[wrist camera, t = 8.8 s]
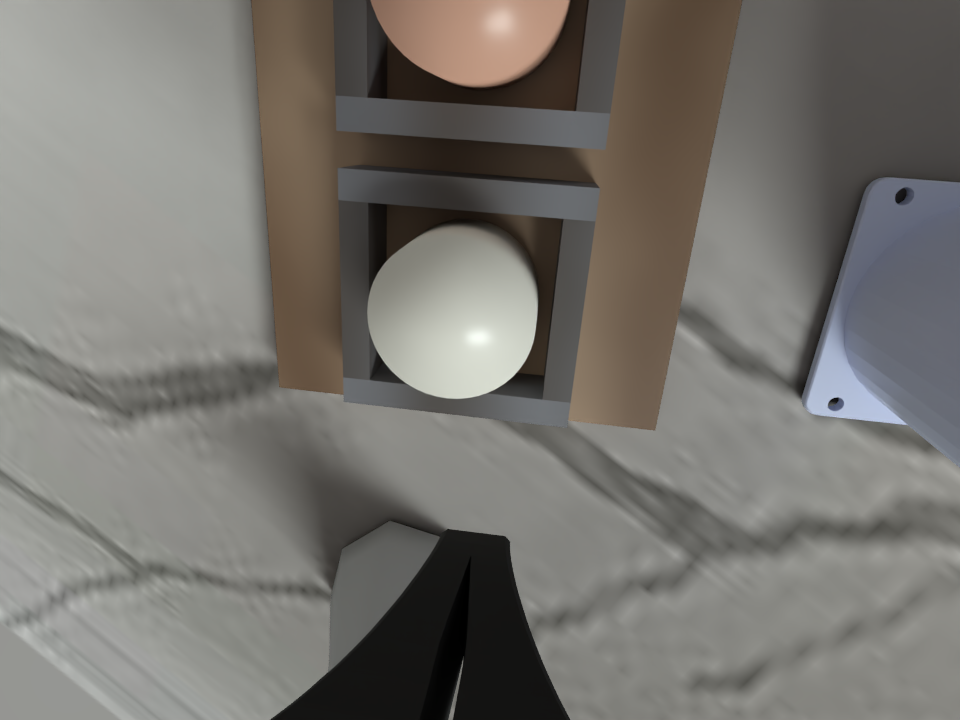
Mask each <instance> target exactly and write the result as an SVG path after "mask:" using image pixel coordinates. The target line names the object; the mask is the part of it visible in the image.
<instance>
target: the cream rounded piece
mask: <svg viewBox="0 0 960 720" xmlns="http://www.w3.org/2000/svg"><path fill="white" fill-rule="evenodd" d="M538 304H539V281H538V277H537V272H536V269H535V267H534V264H533V262H532V260H531V258H530V256H529V254H528V253H527V251H526V250H525V249H524V247H523V246H522V245H521V244H520V243H519V242H518V241H517V240H516V239H515V238H514V237H513V236H512V235H510V234H509V233H508V232H506V231H505V230H503V229H501V228H500V227H498V226H495V225H493V224H491V223H488V222H484V221H481V220H475V219H455V220H450V221H446V222H442V223H440V224H437V225H435V226H433V227H431V228H429V229H428V230H426V231H424V232H423V233H422V234H420V235H419V236H418V237H416V238H415V239H413V240H412V241H411V242H409V243H408V244H407V245H405V246H404V247H402V248H401V249H400V250H398V251H397V252H396V253H395V254H393V255H392V256H391V257H390V258H389V259H388V260H387V261H386V262H385V264H384V265H383V266H382V268H381V269H380V271H379V272H378V274H377V276H376V278H375V280H374V282H373V284H372V287H371V290H370V294H369V299H368V308H367V317H368V326H369V331H370V335H371V338H372V341H373V343H374V346H375V348H376V350H377V352H378V354H379V355H380V357H381V358H382V360H383V361H384V363H385V364H386V365H387V366H388V367H389V369H390V370H391V371H392V372H393V373H394V374H395V375H396V376H397V377H399V378H400V379H401V380H403V381H404V382H405V383H407V384H408V385H410V386H412V387H413V388H415V389H417V390H419V391H422V392H424V393H426V394H430V395H433V396H436V397H442V398H451V399H462V398H471V397H476V396H480V395H483V394H486V393H488V392H491V391H493V390H495V389H497V388H498V387H500V386H502V385H503V384H505V383H506V382H507V381H508V380H509V379H511V378H512V377H513V376H514V375H515V374H516V373H517V372H518V370H519V369H520V368H521V367H522V365H523V364H524V362H525V361H526V359H527V357H528V355H529V353H530V351H531V348H532V344H533V341H534V336H535V331H536V322H537V313H538Z"/></svg>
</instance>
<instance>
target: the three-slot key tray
mask: <svg viewBox="0 0 960 720" xmlns="http://www.w3.org/2000/svg"><path fill="white" fill-rule="evenodd" d="M251 3H252V17H253V30H254V44H255V58H256V72H257V85H258V99H259V113H260V127H261V140H262V154H263V168H264V182H265V195H266V209H267V223H268V237H269V250H270V264H271V278H272V292H273V305H274V319H275V333H276V347H277V360H278V374H279V387H282V388H290V389H299V390H308V391H316V392H325V393H334V394H343V395H344V402H350V403H358V404H367V405H376V406H384V407H393V408H402V409H410V410H419V411H427V412H436V413H445V414H453V415H462V416H470V417H479V418H488V419H496V420H505V421H513V422H522V423H531V424H539V425H548V426H557V427H565V428H567V426H568V420H569V421H577V422H586V423H595V424H604V425H612V426H621V427H630V428H638V429H647V430H655V428H656V424H657V419H658V414H659V409H660V404H661V399H662V394H663V389H664V384H665V379H666V374H667V369H668V364H669V359H670V355H671V350H672V345H673V340H674V335H675V330H676V325H677V320H678V315H679V310H680V305H681V300H682V295H683V290H684V286H685V281H686V276H687V271H688V266H689V261H690V256H691V251H692V246H693V241H694V236H695V231H696V226H697V221H698V217H699V212H700V207H701V202H702V197H703V192H704V187H705V182H706V177H707V172H708V167H709V162H710V157H711V152H712V147H713V143H714V138H715V133H716V128H717V123H718V118H719V113H720V108H721V103H722V98H723V93H724V88H725V83H726V78H727V74H728V69H729V64H730V59H731V54H732V49H733V44H734V39H735V34H736V29H737V24H738V19H739V14H740V9H741V5H742V0H571V2H570V8H569V13H568V17H567V21H566V24H565V27H564V29H563V32H562V34H561V37H560V39H559V40H558V42H557V44H556V46H555V48H554V49H553V51H552V52H551V53H550V55H549V56H548V57H547V59H546V60H545V61H544V62H543V63H542V64H541V65H540V66H539V67H538V68H537V69H536V70H535V71H534V72H532V73H531V74H530V75H528V76H527V77H525V78H524V79H522V80H521V81H519V82H517V83H514V84H512V85H510V86H507V87H503V88H500V89H494V90H472V89H466V88H463V87H460V86H457V85H454V84H452V83H450V82H448V81H446V80H444V79H442V78H440V77H438V76H436V75H434V74H432V73H430V72H428V71H426V70H424V69H422V68H421V67H419V66H417V65H416V64H414V63H413V62H412V61H410V60H409V59H408V58H407V57H406V56H404V55H403V54H402V53H401V52H400V51H399V50H398V48H397V47H396V46H395V45H394V44H393V43H392V41H391V40H390V39H389V37H388V36H387V34H386V33H385V32H384V30H383V28H382V26H381V24H380V22H379V21H378V19H377V16H376V14H375V11H374V9H373V7H372V4H371V0H251ZM455 219H475V220H481V221H484V222H488V223H491V224H493V225H495V226H498V227H500V228H501V229H503V230H505V231H506V232H508V233H509V234H510V235H512V236H513V237H514V238H515V239H516V240H517V241H518V242H519V243H520V244H521V245H522V246H523V247H524V249H525V250H526V251H527V253H528V254H529V256H530V258H531V260H532V262H533V264H534V267H535V269H536V272H537V277H538V281H539V304H538V313H537V322H536V331H535V336H534V341H533V344H532V348H531V351H530V353H529V355H528V357H527V359H526V361H525V362H524V364H523V365H522V367H521V368H520V369H519V370H518V372H517V373H516V374H515V375H514V376H513V377H512V378H511V379H509V380H508V381H507V382H506V383H505V384H503V385H502V386H500V387H498V388H497V389H495V390H493V391H491V392H488V393H486V394H483V395H480V396H476V397H471V398H462V399H451V398H442V397H436V396H433V395H430V394H426V393H424V392H422V391H419V390H417V389H415V388H413V387H412V386H410V385H408V384H407V383H405V382H404V381H403V380H401V379H400V378H399V377H397V376H396V375H395V374H394V373H393V372H392V371H391V370H390V369H389V367H388V366H387V365H386V364H385V363H384V361H383V360H382V358H381V357H380V355H379V354H378V352H377V350H376V348H375V346H374V343H373V341H372V338H371V335H370V331H369V326H368V317H367V308H368V299H369V294H370V290H371V287H372V284H373V282H374V280H375V278H376V276H377V274H378V272H379V271H380V269H381V268H382V266H383V265H384V264H385V262H386V261H387V260H388V259H389V258H390V257H391V256H392V255H393V254H395V253H396V252H397V251H398V250H400V249H401V248H402V247H404V246H405V245H407V244H408V243H409V242H411V241H412V240H413V239H415V238H416V237H418V236H419V235H420V234H422V233H423V232H424V231H426V230H428V229H429V228H431V227H433V226H435V225H437V224H440V223H442V222H446V221H450V220H455Z"/></svg>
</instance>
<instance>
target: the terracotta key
mask: <svg viewBox="0 0 960 720" xmlns="http://www.w3.org/2000/svg"><path fill="white" fill-rule="evenodd" d="M570 2H571V0H371V4H372V7H373V9H374V11H375V14H376V16H377V19H378V21H379V22H380V24H381V26H382V28H383V30H384V32H385V33H386V34H387V36H388V37H389V39H390V40H391V41H392V43H393V44H394V45H395V46H396V47H397V48H398V50H399V51H400V52H401V53H402V54H403V55H404V56H406V57H407V58H408V59H409V60H410V61H412V62H413V63H414V64H416V65H417V66H419V67H421V68H422V69H424V70H426V71H428V72H430V73H432V74H434V75H436V76H438V77H440V78H442V79H444V80H446V81H448V82H450V83H452V84H454V85H457V86H460V87H463V88H466V89H472V90H494V89H500V88H503V87H507V86H510V85H512V84H514V83H517V82H519V81H521V80H522V79H524V78H525V77H527V76H528V75H530V74H531V73H532V72H534V71H535V70H536V69H537V68H538V67H539V66H540V65H541V64H542V63H543V62H544V61H545V60H546V59H547V57H548V56H549V55H550V53H551V52H552V51H553V49H554V48H555V46H556V44H557V42H558V40H559V39H560V37H561V34H562V32H563V29H564V27H565V24H566V21H567V17H568V13H569V8H570Z"/></svg>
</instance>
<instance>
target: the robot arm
mask: <svg viewBox="0 0 960 720" xmlns="http://www.w3.org/2000/svg"><path fill="white" fill-rule="evenodd" d="M902 188H905V189H906V191H907V196H906V198H905V199H904V200H903V201H902V202H901V203H898V204H897V203H896V201H895V195H896V193H897V192H898V191H899V190H900V189H902ZM837 397H839V401H838V402H837V404H835V405H833V406H828V402H829V401H830V400H831V399H833V398H837ZM802 404H803V406H804V407H805V409H806V410H807V411H809V412H810V413H811V414H815V415H822V416H831V417H840V418H849V419H858V420H867V421H876V422H885V423H894V424H904V425H909V426H910V427H911V428H912V429H913V430H915V431H916V432H917V433H918V434H920V435H921V436H922V437H923V438H924V439H926V440H927V441H928V442H929V443H930V444H932V445H933V446H934V447H935V448H937V449H938V450H939V451H940V452H941V453H943V454H944V455H945V456H946V457H947V458H949V459H950V460H951V461H952V462H953V463H955V464H956V465H957V466H958V467H960V182H948V181H934V180H920V179H907V178H893V177H882V178H878V179H876V180H874V181H872V182H871V183H870V184H869V185H868V186H867V188H866V190H865V192H864V194H863V198H862V201H861V204H860V208H859V211H858V214H857V217H856V221H855V224H854V227H853V231H852V234H851V237H850V240H849V244H848V247H847V250H846V254H845V257H844V260H843V263H842V267H841V270H840V273H839V277H838V280H837V283H836V287H835V290H834V293H833V296H832V300H831V303H830V306H829V310H828V313H827V316H826V319H825V323H824V326H823V329H822V333H821V336H820V339H819V342H818V346H817V349H816V352H815V356H814V359H813V362H812V365H811V369H810V372H809V375H808V379H807V382H806V385H805V389H804V392H803V395H802ZM463 656H464V658H463ZM462 660H463V668H462V674H461V679H460V685H459V690H458V696H457V701H456V707H455V712H454V717H453V720H570V718H569V717H568V715H567V713H566V711H565V709H564V707H563V705H562V703H561V701H560V699H559V697H558V695H557V693H556V691H555V689H554V687H553V684H552V682H551V680H550V678H549V676H548V674H547V671H546V669H545V667H544V664H543V662H542V660H541V657H540V655H539V652H538V650H537V647H536V644H535V642H534V639H533V637H532V634H531V631H530V628H529V626H528V623H527V620H526V617H525V613H524V610H523V607H522V604H521V600H520V597H519V594H518V590H517V586H516V582H515V578H514V573H513V568H512V563H511V556H510V541H509V540H508V539H507V538H506V537H505V536H499V535H491V534H483V533H475V532H467V531H459V530H451V529H447V530H446V531H444V532H443V533H442V534H441V536H440V538H439V540H438V542H437V544H436V545H435V547H434V549H433V550H432V552H431V554H430V555H429V557H428V558H427V560H426V561H425V563H424V564H423V566H422V567H421V569H420V570H419V571H418V573H417V574H416V576H415V577H414V578H413V579H412V581H411V582H410V583H409V585H408V586H407V587H406V589H405V590H404V591H403V593H402V594H401V595H400V597H399V598H398V599H397V600H396V602H395V603H394V604H393V605H392V606H391V607H390V609H389V610H388V611H387V612H386V613H385V614H384V616H383V617H382V618H381V619H380V620H379V621H378V623H377V624H376V625H375V626H374V627H373V628H372V629H371V630H370V632H369V633H368V634H367V635H366V636H365V637H364V638H363V639H362V640H361V641H360V642H359V643H358V644H357V645H356V646H355V647H354V648H353V649H352V650H351V651H350V652H349V653H348V654H347V655H346V656H345V657H344V658H343V659H342V660H341V661H340V662H339V663H338V664H337V665H336V666H335V667H334V668H332V669H331V670H330V671H329V672H328V673H327V674H326V675H325V676H323V677H322V678H321V679H320V680H319V681H318V682H317V683H316V684H314V685H313V686H312V687H311V688H310V689H309V690H308V691H306V692H305V693H304V694H303V695H302V696H300V697H299V698H298V699H297V700H295V701H294V702H293V703H292V704H291V705H289V706H288V707H287V708H285V709H284V710H283V711H281V712H280V713H279V714H277V715H276V716H275V717H273V718H272V719H271V720H448V718H449V714H450V709H451V705H452V701H453V697H454V693H455V689H456V685H457V681H458V677H459V673H460V669H461V665H462Z"/></svg>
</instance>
